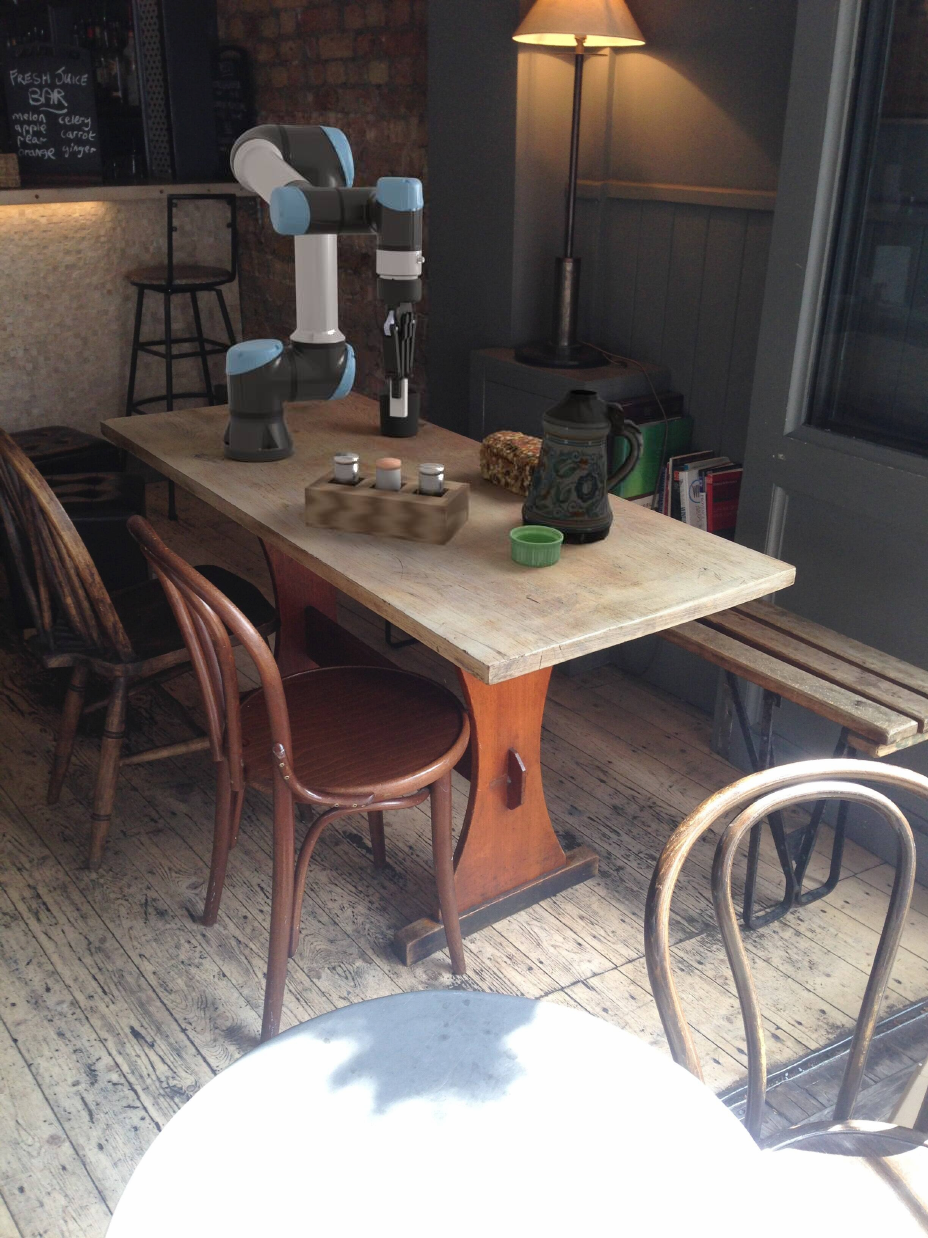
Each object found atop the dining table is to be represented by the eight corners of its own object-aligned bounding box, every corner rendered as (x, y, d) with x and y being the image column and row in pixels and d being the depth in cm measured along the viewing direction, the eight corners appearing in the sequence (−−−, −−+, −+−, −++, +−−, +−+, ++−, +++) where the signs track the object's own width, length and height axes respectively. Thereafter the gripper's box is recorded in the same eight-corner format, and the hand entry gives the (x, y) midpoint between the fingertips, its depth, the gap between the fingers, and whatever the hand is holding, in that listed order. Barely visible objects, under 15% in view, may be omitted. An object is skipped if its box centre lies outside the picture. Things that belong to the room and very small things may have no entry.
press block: (305, 525, 194) (304, 487, 192) (336, 502, 207) (336, 466, 204) (444, 545, 188) (445, 506, 185) (468, 520, 200) (469, 483, 197)
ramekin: (529, 545, 190) (530, 521, 188) (572, 558, 184) (574, 534, 183) (497, 558, 183) (498, 534, 181) (540, 573, 178) (542, 547, 176)
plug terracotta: (372, 498, 194) (372, 462, 191) (381, 491, 198) (381, 456, 195) (395, 501, 193) (395, 465, 190) (404, 494, 197) (404, 459, 194)
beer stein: (506, 519, 202) (513, 383, 191) (600, 510, 208) (612, 378, 198) (543, 549, 188) (553, 405, 177) (643, 539, 194) (658, 399, 184)
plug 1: (330, 493, 196) (329, 457, 193) (340, 486, 200) (339, 451, 197) (353, 496, 195) (353, 460, 192) (362, 489, 199) (362, 454, 196)
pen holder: (426, 431, 257) (427, 389, 253) (407, 440, 249) (408, 396, 245) (391, 426, 261) (391, 384, 256) (371, 434, 253) (371, 391, 249)
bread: (477, 478, 225) (479, 430, 221) (518, 471, 230) (520, 424, 226) (533, 503, 211) (536, 453, 207) (575, 495, 217) (579, 446, 213)
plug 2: (414, 504, 192) (415, 468, 189) (422, 496, 196) (423, 461, 193) (438, 507, 191) (439, 471, 188) (446, 500, 195) (447, 464, 192)
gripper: (407, 281, 177) (406, 425, 186) (432, 273, 188) (430, 409, 198) (364, 278, 179) (365, 421, 188) (391, 271, 190) (391, 406, 200)
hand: (398, 415), depth 193 cm, fingers closed
